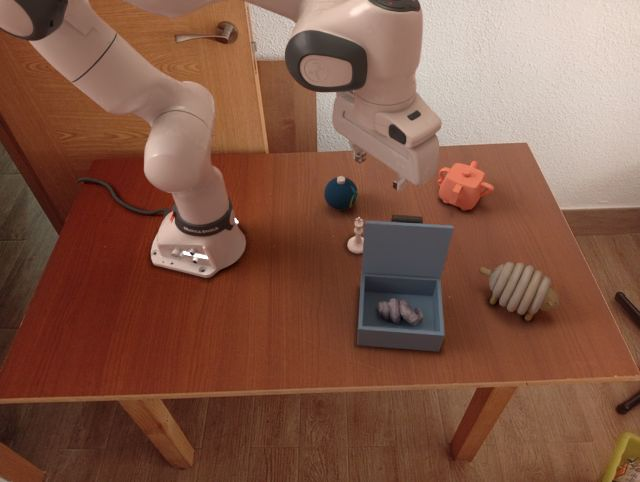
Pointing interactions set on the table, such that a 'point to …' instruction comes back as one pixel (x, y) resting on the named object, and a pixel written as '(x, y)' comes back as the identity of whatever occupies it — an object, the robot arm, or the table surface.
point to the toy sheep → (521, 289)
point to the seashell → (399, 311)
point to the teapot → (463, 185)
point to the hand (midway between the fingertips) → (378, 173)
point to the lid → (405, 247)
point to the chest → (403, 334)
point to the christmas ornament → (340, 193)
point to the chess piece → (357, 238)
